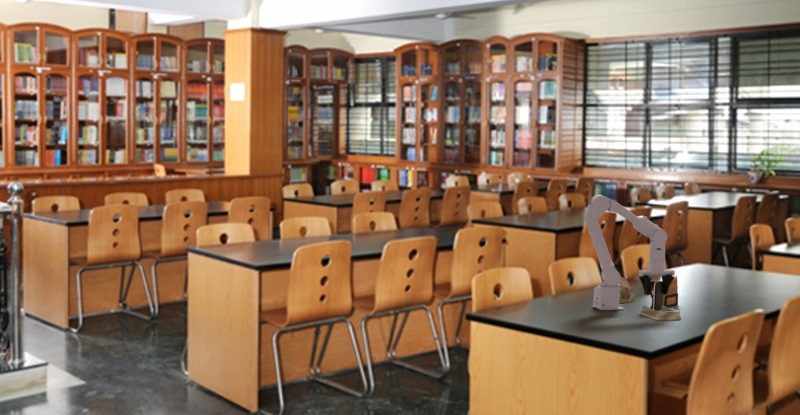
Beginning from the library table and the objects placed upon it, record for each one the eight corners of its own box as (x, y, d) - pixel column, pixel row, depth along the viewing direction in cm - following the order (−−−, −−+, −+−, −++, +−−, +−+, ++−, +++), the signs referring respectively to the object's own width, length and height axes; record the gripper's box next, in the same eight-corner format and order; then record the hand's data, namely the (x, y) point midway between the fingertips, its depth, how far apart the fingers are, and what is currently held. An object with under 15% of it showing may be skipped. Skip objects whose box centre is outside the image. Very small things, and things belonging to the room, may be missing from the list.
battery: (654, 308, 357) (655, 279, 356) (663, 309, 354) (664, 280, 353) (646, 310, 351) (647, 281, 350) (655, 312, 349) (656, 282, 348)
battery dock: (656, 320, 333) (656, 311, 333) (639, 313, 344) (639, 305, 344) (680, 319, 335) (681, 311, 335) (663, 313, 347) (663, 305, 347)
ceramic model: (619, 304, 364) (620, 279, 364) (595, 300, 373) (596, 275, 372) (639, 300, 374) (640, 276, 373) (616, 296, 382) (617, 273, 381)
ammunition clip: (664, 308, 357) (666, 278, 356) (660, 308, 358) (661, 277, 357) (677, 305, 364) (679, 275, 363) (673, 304, 366) (675, 275, 365)
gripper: (645, 260, 345) (644, 296, 347) (679, 260, 349) (678, 295, 350) (636, 258, 352) (634, 293, 353) (669, 257, 356) (668, 292, 357)
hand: (655, 294), depth 352 cm, fingers open, 7 cm apart
